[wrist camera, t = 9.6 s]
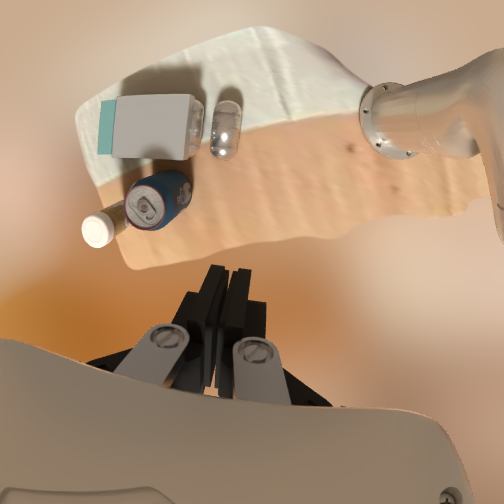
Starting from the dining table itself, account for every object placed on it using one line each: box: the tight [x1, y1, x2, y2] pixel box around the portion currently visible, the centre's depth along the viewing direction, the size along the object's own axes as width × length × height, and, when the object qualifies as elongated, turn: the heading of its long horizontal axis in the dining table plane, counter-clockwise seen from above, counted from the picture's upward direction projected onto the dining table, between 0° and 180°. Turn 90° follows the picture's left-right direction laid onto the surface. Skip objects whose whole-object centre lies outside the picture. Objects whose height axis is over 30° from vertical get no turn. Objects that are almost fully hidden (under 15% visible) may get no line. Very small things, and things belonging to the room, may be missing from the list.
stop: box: [97, 100, 117, 154], centre depth 37 cm, size 2×8×7 cm, turn 173°
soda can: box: [123, 170, 192, 231], centre depth 38 cm, size 7×7×12 cm
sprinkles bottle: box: [82, 200, 132, 248], centre depth 39 cm, size 5×5×14 cm
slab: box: [112, 94, 195, 160], centre depth 35 cm, size 11×9×2 cm
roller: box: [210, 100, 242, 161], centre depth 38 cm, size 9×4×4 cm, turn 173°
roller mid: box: [188, 99, 204, 158], centre depth 38 cm, size 9×4×4 cm, turn 173°
